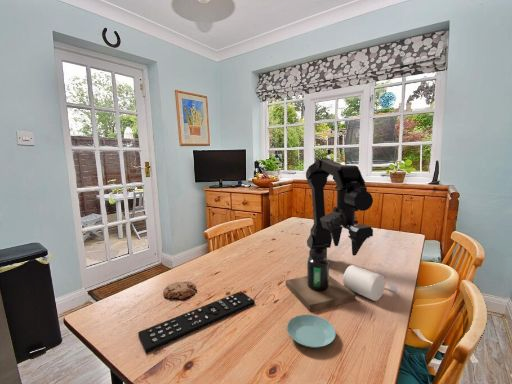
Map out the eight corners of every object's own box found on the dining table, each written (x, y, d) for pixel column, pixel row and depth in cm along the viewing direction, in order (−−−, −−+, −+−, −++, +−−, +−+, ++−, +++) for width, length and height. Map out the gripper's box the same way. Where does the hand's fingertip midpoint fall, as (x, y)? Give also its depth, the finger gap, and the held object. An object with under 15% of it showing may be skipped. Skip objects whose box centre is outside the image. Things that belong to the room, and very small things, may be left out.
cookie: (162, 289, 89) (161, 281, 89) (193, 283, 93) (192, 275, 93) (164, 304, 80) (163, 295, 80) (198, 296, 84) (198, 288, 84)
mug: (371, 305, 77) (372, 280, 76) (342, 291, 85) (342, 268, 84) (390, 291, 84) (392, 268, 83) (362, 280, 92) (363, 259, 91)
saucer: (326, 320, 70) (326, 313, 70) (342, 353, 59) (343, 344, 58) (283, 323, 70) (283, 315, 70) (291, 356, 58) (291, 347, 58)
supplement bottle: (320, 294, 80) (320, 257, 78) (302, 285, 85) (303, 251, 83) (332, 286, 84) (333, 251, 82) (315, 279, 89) (316, 246, 87)
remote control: (255, 305, 79) (255, 299, 79) (146, 355, 60) (145, 347, 60) (241, 295, 85) (241, 289, 85) (138, 337, 66) (138, 330, 66)
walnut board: (325, 277, 94) (325, 272, 94) (355, 300, 79) (355, 294, 79) (285, 285, 89) (285, 280, 89) (309, 311, 74) (309, 305, 74)
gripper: (309, 201, 90) (309, 244, 92) (343, 212, 72) (342, 265, 74) (336, 199, 93) (335, 240, 95) (375, 208, 76) (373, 259, 78)
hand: (344, 250), depth 86 cm, fingers open, 9 cm apart
